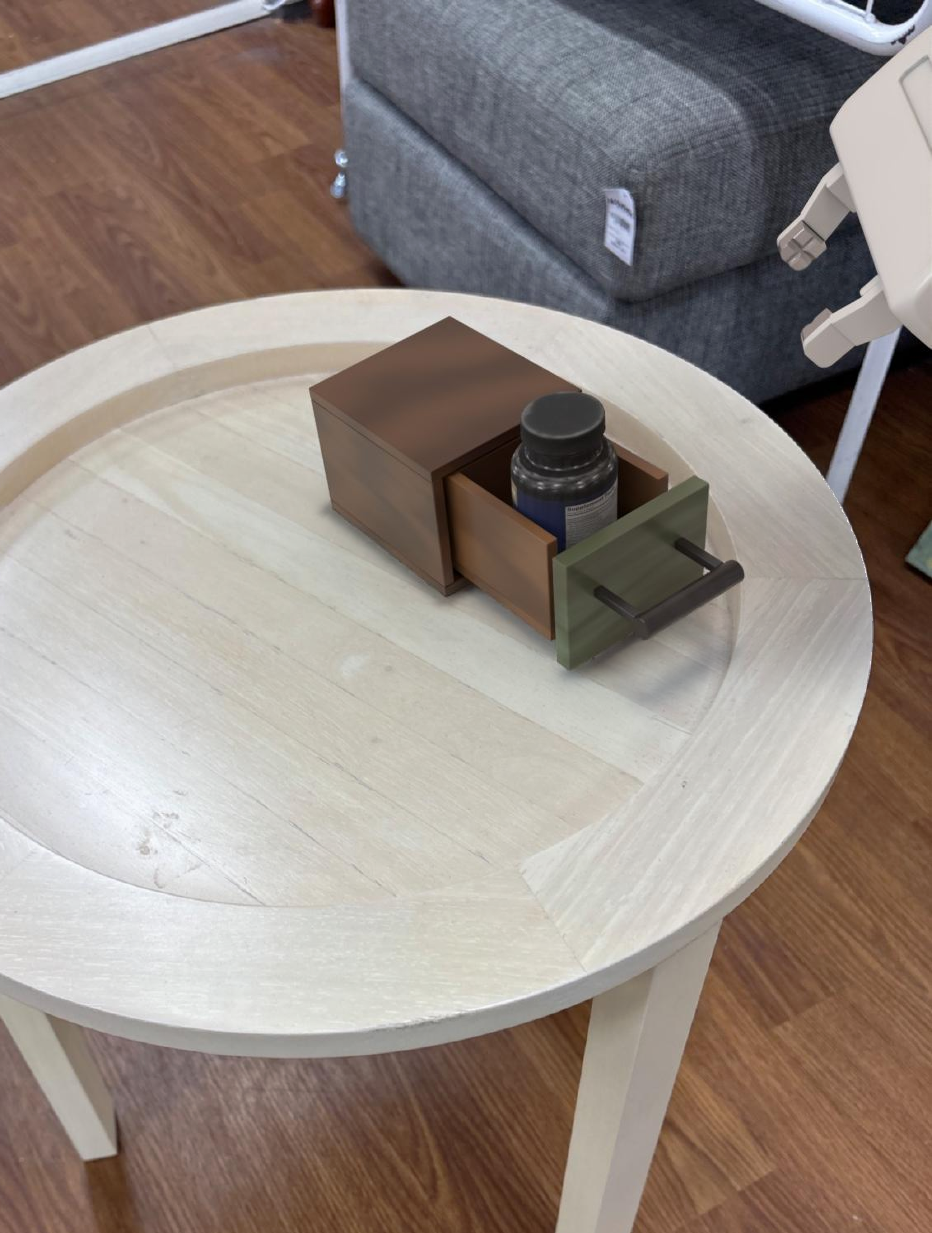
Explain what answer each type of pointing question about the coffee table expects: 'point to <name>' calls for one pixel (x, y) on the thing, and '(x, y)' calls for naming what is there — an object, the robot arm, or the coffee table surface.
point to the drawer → (587, 555)
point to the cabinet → (420, 434)
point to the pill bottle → (565, 467)
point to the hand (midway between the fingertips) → (797, 303)
